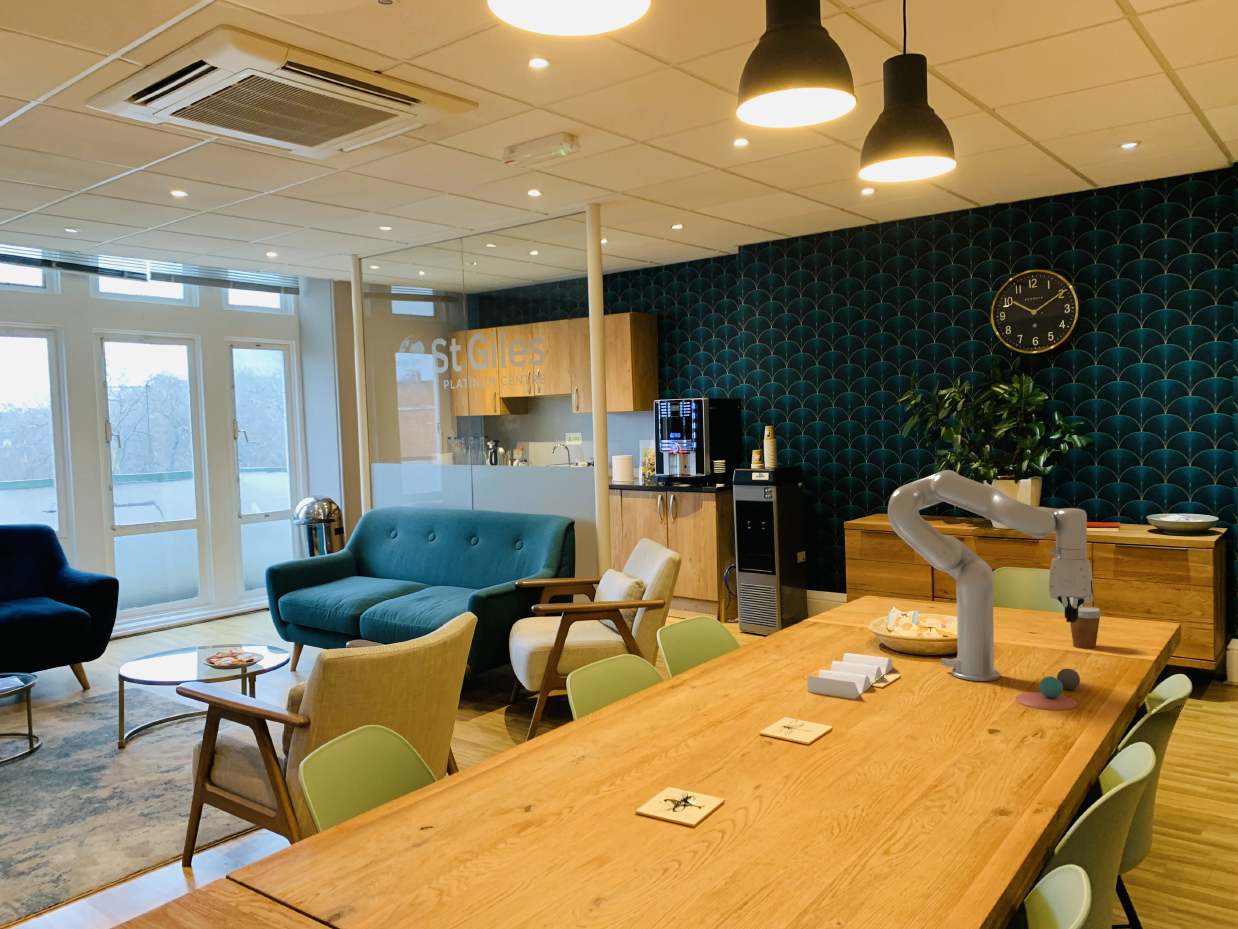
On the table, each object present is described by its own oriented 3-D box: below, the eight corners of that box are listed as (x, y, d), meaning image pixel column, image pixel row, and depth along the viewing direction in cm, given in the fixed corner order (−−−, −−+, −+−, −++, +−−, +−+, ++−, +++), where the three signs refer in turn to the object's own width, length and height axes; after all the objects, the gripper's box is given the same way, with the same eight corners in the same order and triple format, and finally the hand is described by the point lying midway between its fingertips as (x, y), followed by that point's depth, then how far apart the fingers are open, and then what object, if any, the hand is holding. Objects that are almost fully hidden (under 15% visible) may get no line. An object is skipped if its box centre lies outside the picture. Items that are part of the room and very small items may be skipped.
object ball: (1049, 693, 234) (1042, 703, 230) (1039, 674, 234) (1032, 684, 231) (1069, 690, 230) (1062, 700, 226) (1059, 671, 230) (1052, 681, 227)
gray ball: (1065, 667, 241) (1061, 687, 241) (1055, 665, 238) (1051, 685, 238) (1085, 672, 237) (1081, 693, 236) (1075, 670, 234) (1071, 691, 233)
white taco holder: (894, 669, 263) (893, 652, 263) (855, 701, 234) (854, 682, 234) (850, 664, 270) (850, 647, 270) (807, 694, 241) (807, 675, 241)
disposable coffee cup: (1093, 642, 285) (1093, 605, 284) (1106, 650, 276) (1106, 611, 275) (1062, 642, 286) (1062, 605, 285) (1074, 650, 276) (1074, 612, 276)
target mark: (1015, 706, 224) (1015, 705, 224) (1015, 691, 237) (1015, 690, 237) (1078, 712, 218) (1078, 712, 218) (1074, 696, 231) (1074, 695, 231)
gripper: (1037, 553, 243) (1037, 620, 244) (1097, 558, 233) (1097, 628, 233) (1047, 550, 248) (1047, 615, 249) (1105, 554, 238) (1106, 623, 239)
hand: (1071, 621), depth 241 cm, fingers closed
